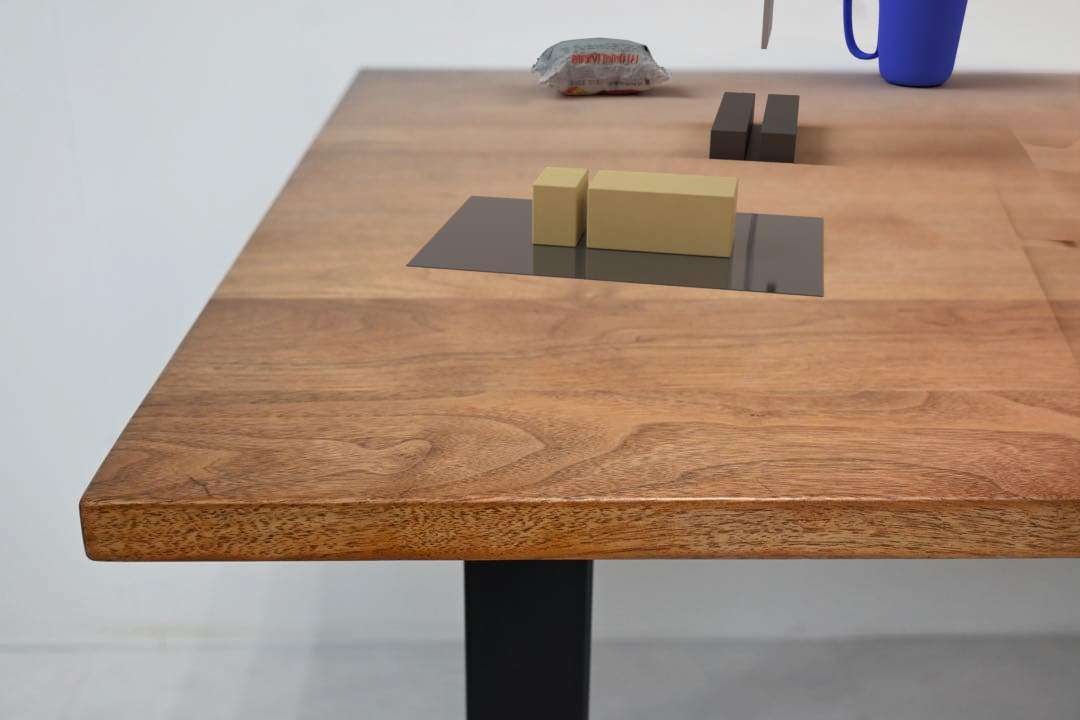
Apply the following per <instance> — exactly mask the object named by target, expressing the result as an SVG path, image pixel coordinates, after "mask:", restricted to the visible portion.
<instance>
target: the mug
mask: <svg viewBox="0 0 1080 720" xmlns="http://www.w3.org/2000/svg"><path fill="white" fill-rule="evenodd" d="M968 2H969V0H878V24H877V27H878V28H877V42H876V48H875V51H874V52H873V53H868V52H865V51H863V50H861V48H859V46H858V45H857V43H856V39H855V35H854V28H853V0H842V21H843V33H844V40H845V44H846V47H847V49H848V52H849V53H850V54H851V55H852V56H853V57H854V58H856V59H858V60H862V61H871V60H876V59H877V60H878V71H879V75H880V77H881V78H882V79H883V80H885V81H886V82H888V83H891V84H895V85H899V86H907V87H908V86H909V87H933V86H938V85H943V84H945V83H946V82H947V81H949V80H950V78H951V77H952V74H953V72H954V68H955V64H956V58H957V54H958V50H959V49H958V48H959V44H960V40H961V35H962V30H963V26H964V20H965V16H966V12H967V6H968Z"/></svg>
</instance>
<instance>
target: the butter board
mask: <svg viewBox="0 0 1080 720" xmlns="http://www.w3.org/2000/svg"><path fill="white" fill-rule="evenodd" d="M532 225H533V198H531V199H529V198H516V197H514V198H513V197H499V196H482V195H481V196H480V195H470V196H469V197H468V198H467V200H466V201H465V202H464V203H463V204H462V205H461V206H460V207H459V208H458V209H457V210H456V211H455V213H453V214H452V215H451V216H450V218H449V219H447V221H445V223H444V224H443V225H442V226H441V227H440V228H439V229H438V230H437V232H435V234H433V236H432V237H431V238H430V239H429V240H428V241H427V242H426V244H424V245H423V247H422V248H421V249H420V250H418V252H417V253H416V254H415V255H414V256H413V257H411V259H410V260H409V261H408V262H407V263H406V265H405V267H409V268H423V269H437V270H450V271H465V272H476V273H491V274H505V275H518V276H532V277H546V278H556V279H557V278H559V279H572V280H587V281H598V282H599V281H600V282H612V283H613V282H614V283H625V284H626V283H627V284H640V285H654V286H667V287H668V286H669V287H678V288H679V287H681V288H693V289H706V290H707V289H709V290H720V291H722V290H723V291H734V292H748V293H763V294H777V295H787V296H788V295H789V296H802V297H816V298H824V217H819V216H818V217H817V216H805V215H804V216H803V215H787V214H786V215H785V214H770V213H757V212H756V213H755V212H739V211H736V226H735V237H734V242H733V246H732V251H731V256H730V257H729V258H727V257H713V256H698V255H684V254H669V253H655V252H640V251H626V250H611V249H597V248H587V228H586V229H585V231H584V233H583V235H582V236H581V238H580V240H579V242H578V243H577V245H576V247H567V246H553V245H538V244H533V243H532Z"/></svg>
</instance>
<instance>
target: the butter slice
mask: <svg viewBox="0 0 1080 720" xmlns="http://www.w3.org/2000/svg"><path fill="white" fill-rule="evenodd" d="M589 171H590V170H589V168H579V167H577V168H576V167H560V166H559V167H558V166H546V167H545V169H544V170H543V171H542V172H541V174H540V175H539V176H538V178H536V180H535V181H534V182H533V184H532V200H533V225H532V243H533V244H538V245H553V246H567V247H576V245H577V243H578V242H579V240H580V238H581V236H582V235H583V233H584V231H585V229H586V228H587V203H588V187H589V175H590V173H589Z"/></svg>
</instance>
